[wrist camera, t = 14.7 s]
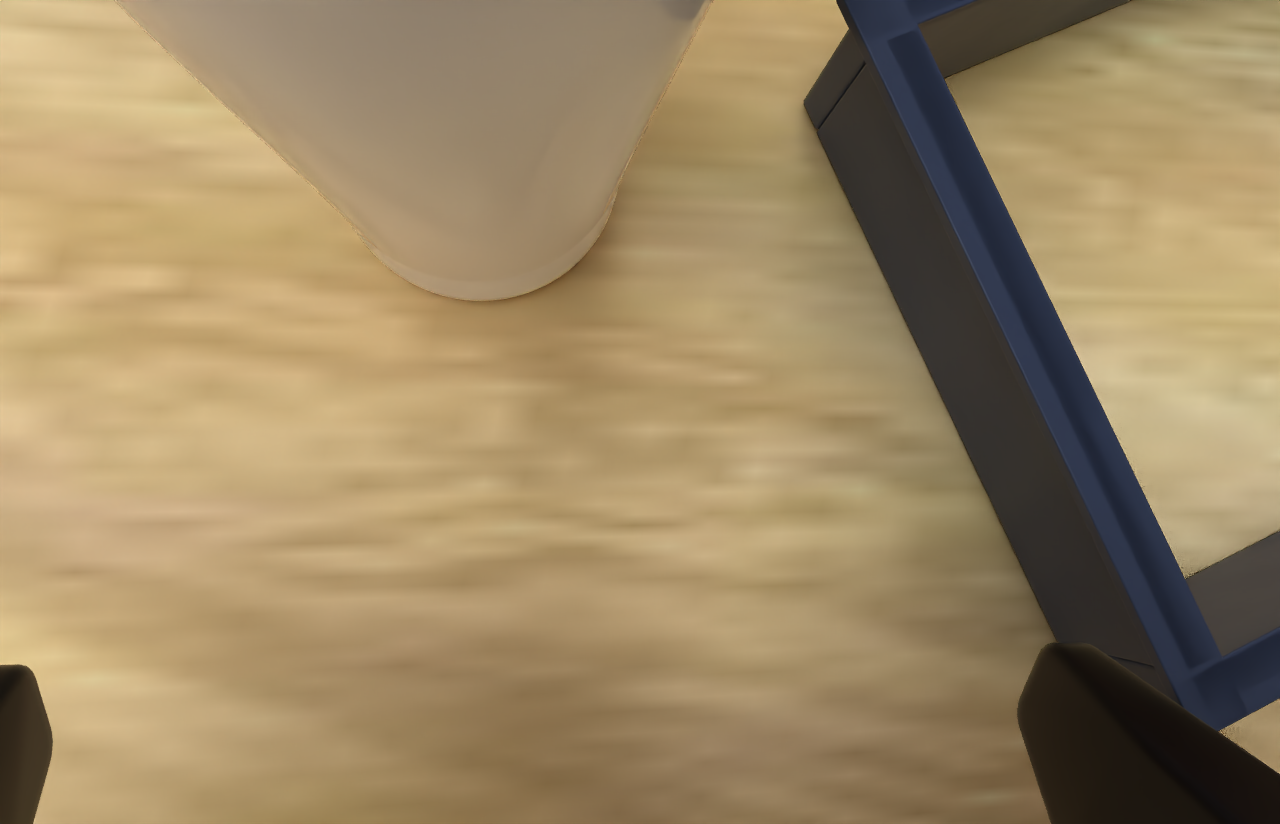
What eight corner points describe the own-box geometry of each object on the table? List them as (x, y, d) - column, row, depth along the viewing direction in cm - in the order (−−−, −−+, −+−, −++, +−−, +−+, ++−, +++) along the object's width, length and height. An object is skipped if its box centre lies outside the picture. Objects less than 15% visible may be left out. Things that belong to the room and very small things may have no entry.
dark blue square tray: (1591, 423, 21) (1831, 402, 17) (1066, 696, 20) (1199, 742, 16) (1312, -122, 22) (1481, -261, 18) (781, 94, 20) (840, -9, 16)
